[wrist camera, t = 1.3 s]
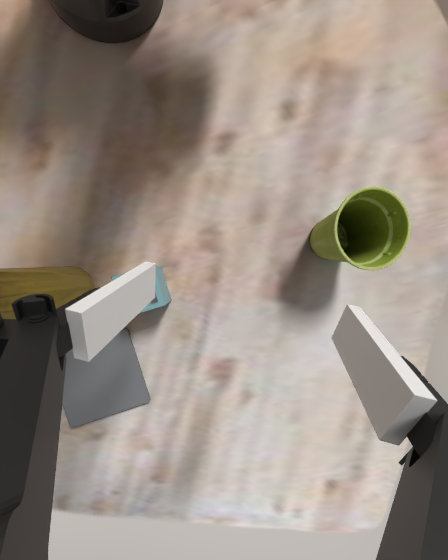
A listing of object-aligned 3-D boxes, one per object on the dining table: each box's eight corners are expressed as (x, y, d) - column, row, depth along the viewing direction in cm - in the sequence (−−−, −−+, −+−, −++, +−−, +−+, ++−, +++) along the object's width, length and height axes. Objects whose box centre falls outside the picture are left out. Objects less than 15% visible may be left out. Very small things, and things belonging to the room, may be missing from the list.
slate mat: (47, 352, 29) (44, 353, 28) (127, 328, 30) (126, 329, 29) (73, 425, 29) (70, 428, 29) (150, 399, 30) (149, 401, 30)
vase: (100, 302, 29) (3, 332, 15) (55, 316, 29) (-89, 360, 14) (85, 261, 29) (-29, 250, 15) (39, 274, 28) (-125, 276, 14)
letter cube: (126, 276, 29) (110, 277, 24) (161, 266, 30) (152, 265, 25) (137, 309, 30) (123, 317, 25) (171, 299, 30) (165, 305, 25)
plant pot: (366, 251, 33) (424, 243, 24) (317, 281, 32) (358, 285, 24) (339, 198, 32) (389, 171, 24) (288, 228, 32) (320, 212, 23)
